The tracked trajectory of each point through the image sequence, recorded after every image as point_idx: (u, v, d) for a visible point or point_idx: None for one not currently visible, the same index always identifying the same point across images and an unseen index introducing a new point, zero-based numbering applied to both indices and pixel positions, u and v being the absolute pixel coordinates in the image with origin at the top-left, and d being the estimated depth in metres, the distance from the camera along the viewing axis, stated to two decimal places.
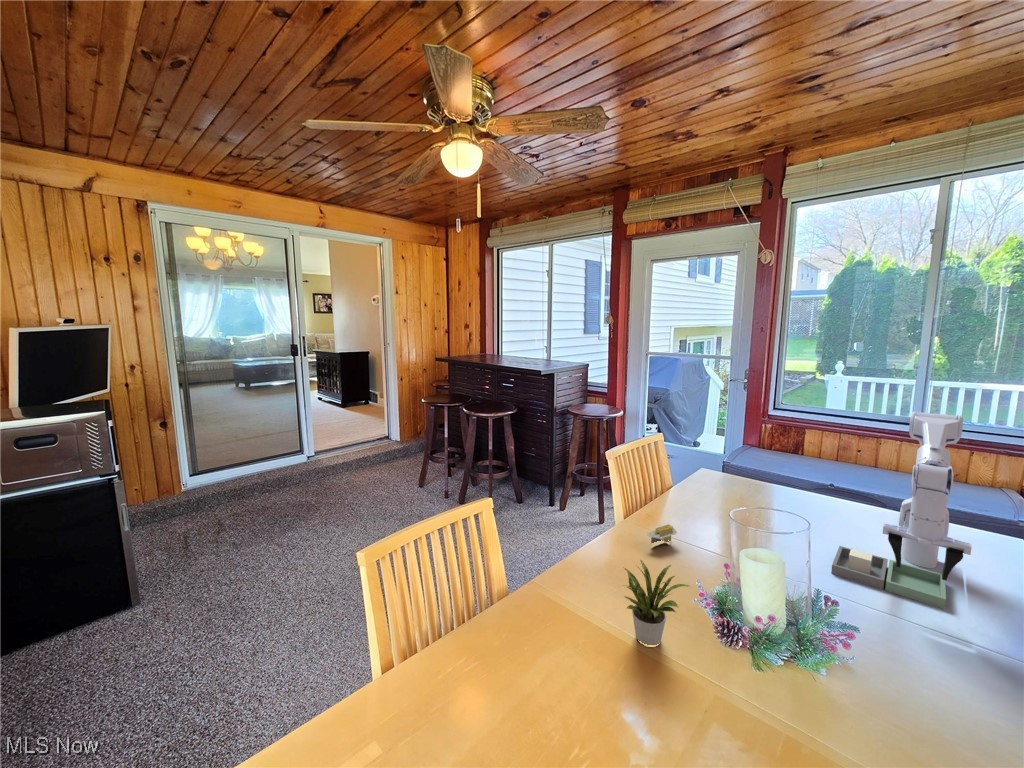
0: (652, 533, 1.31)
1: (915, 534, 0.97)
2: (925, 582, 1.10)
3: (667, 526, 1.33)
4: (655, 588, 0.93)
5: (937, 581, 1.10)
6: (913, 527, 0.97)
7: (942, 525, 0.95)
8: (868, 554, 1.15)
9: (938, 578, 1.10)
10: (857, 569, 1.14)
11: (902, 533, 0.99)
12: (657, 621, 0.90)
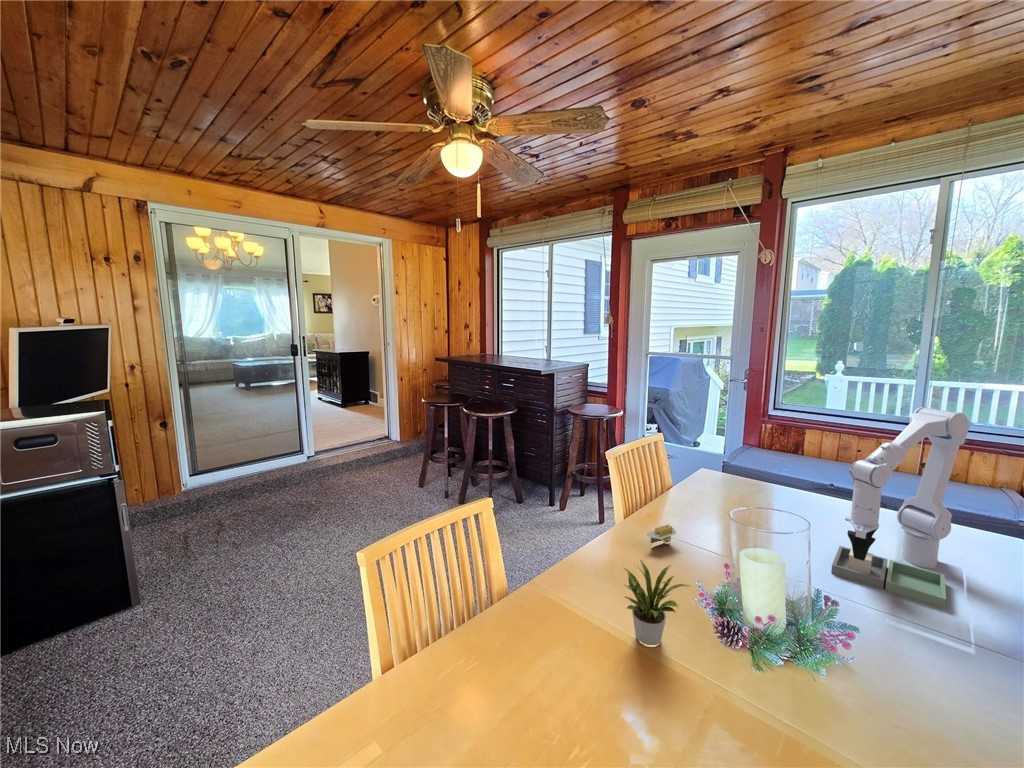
0: (652, 533, 1.30)
1: None
2: (925, 582, 1.10)
3: (667, 526, 1.33)
4: (655, 588, 0.93)
5: (937, 581, 1.10)
6: None
7: (858, 510, 1.13)
8: (868, 554, 1.15)
9: (938, 578, 1.10)
10: (857, 569, 1.14)
11: None
12: (657, 621, 0.90)
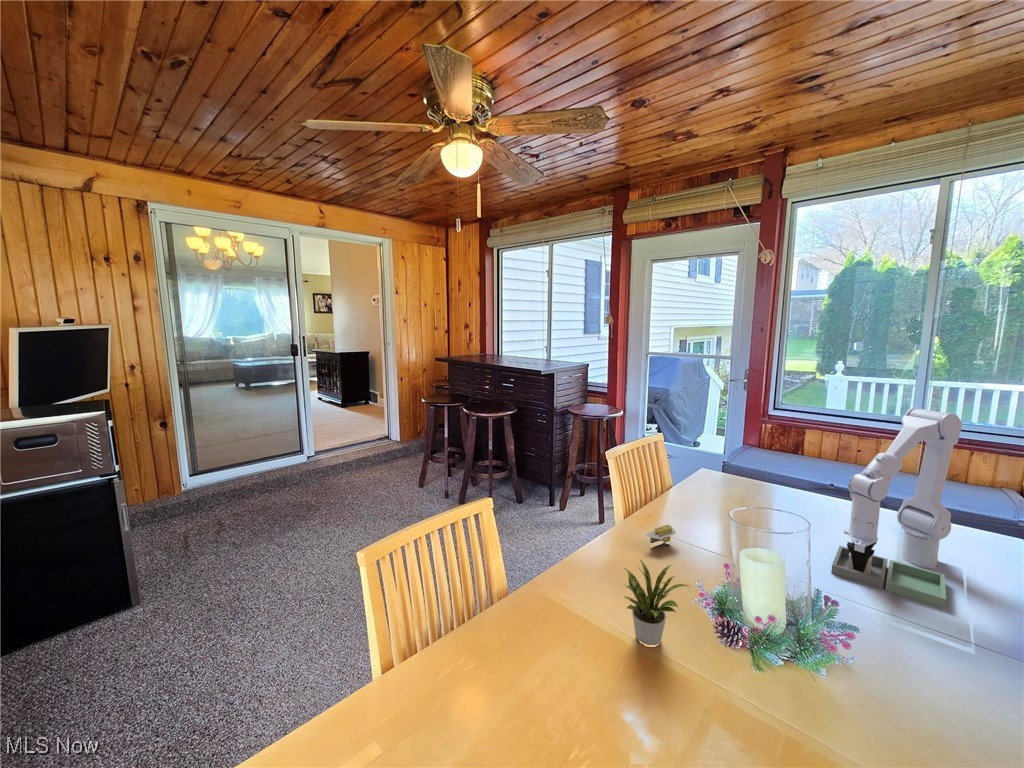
0: (652, 533, 1.30)
1: None
2: (925, 582, 1.10)
3: (666, 526, 1.33)
4: (655, 588, 0.93)
5: (937, 581, 1.10)
6: None
7: (856, 524, 1.13)
8: None
9: (938, 578, 1.10)
10: None
11: None
12: (657, 621, 0.90)
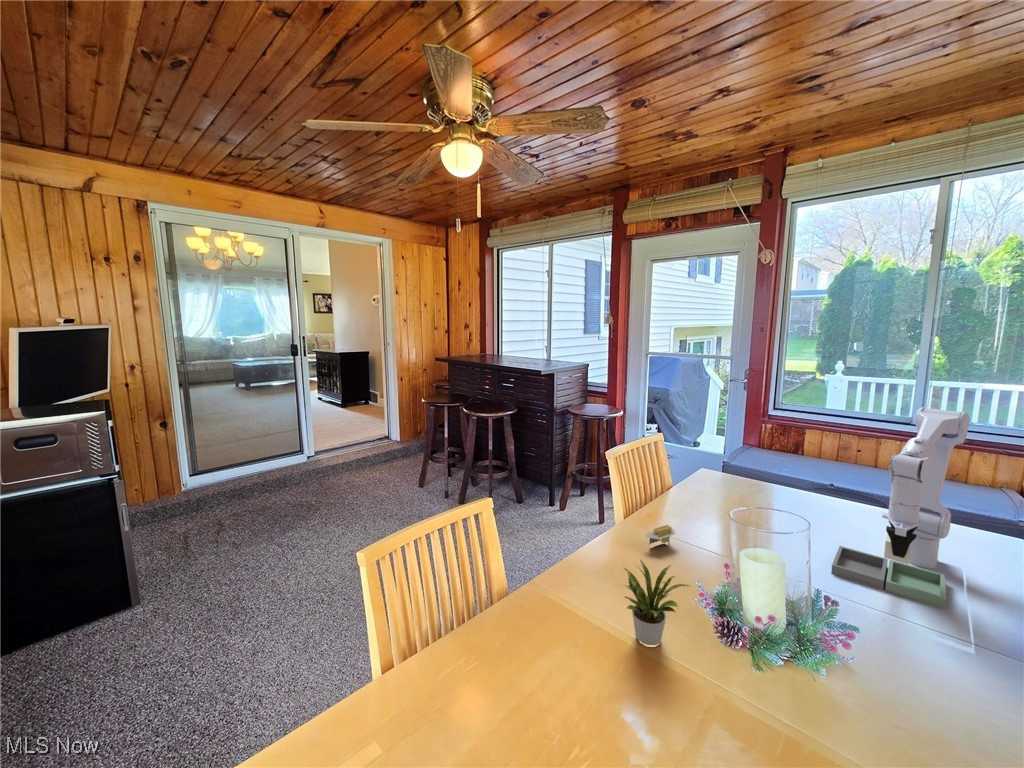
0: (651, 534, 1.30)
1: None
2: (925, 582, 1.10)
3: (665, 527, 1.33)
4: (655, 588, 0.93)
5: (937, 581, 1.10)
6: None
7: (896, 507, 1.07)
8: None
9: (938, 578, 1.10)
10: (895, 556, 1.09)
11: None
12: (657, 621, 0.90)
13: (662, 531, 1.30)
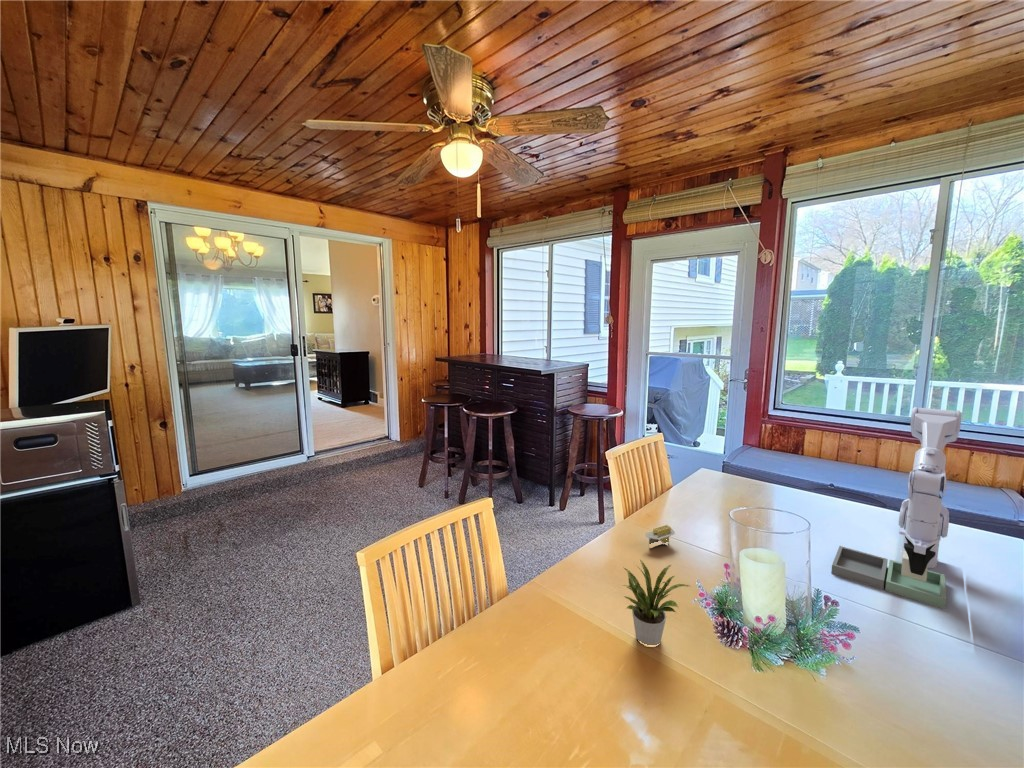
0: (650, 534, 1.30)
1: None
2: (925, 582, 1.10)
3: (665, 527, 1.33)
4: (655, 588, 0.93)
5: (937, 581, 1.10)
6: None
7: (914, 523, 1.05)
8: None
9: (938, 578, 1.10)
10: (912, 573, 1.07)
11: None
12: (657, 621, 0.90)
13: (662, 531, 1.30)
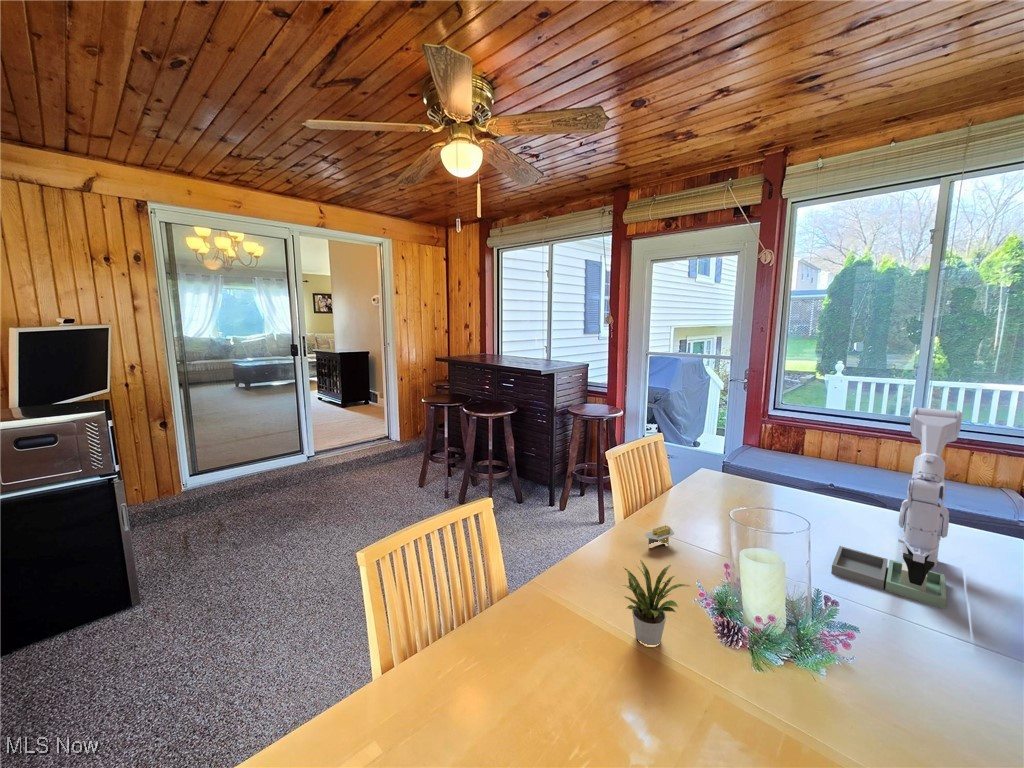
0: (650, 534, 1.30)
1: None
2: None
3: (664, 527, 1.33)
4: (655, 588, 0.93)
5: (937, 581, 1.10)
6: None
7: (913, 531, 1.05)
8: None
9: (938, 578, 1.10)
10: (911, 585, 1.07)
11: None
12: (657, 621, 0.90)
13: (661, 531, 1.30)
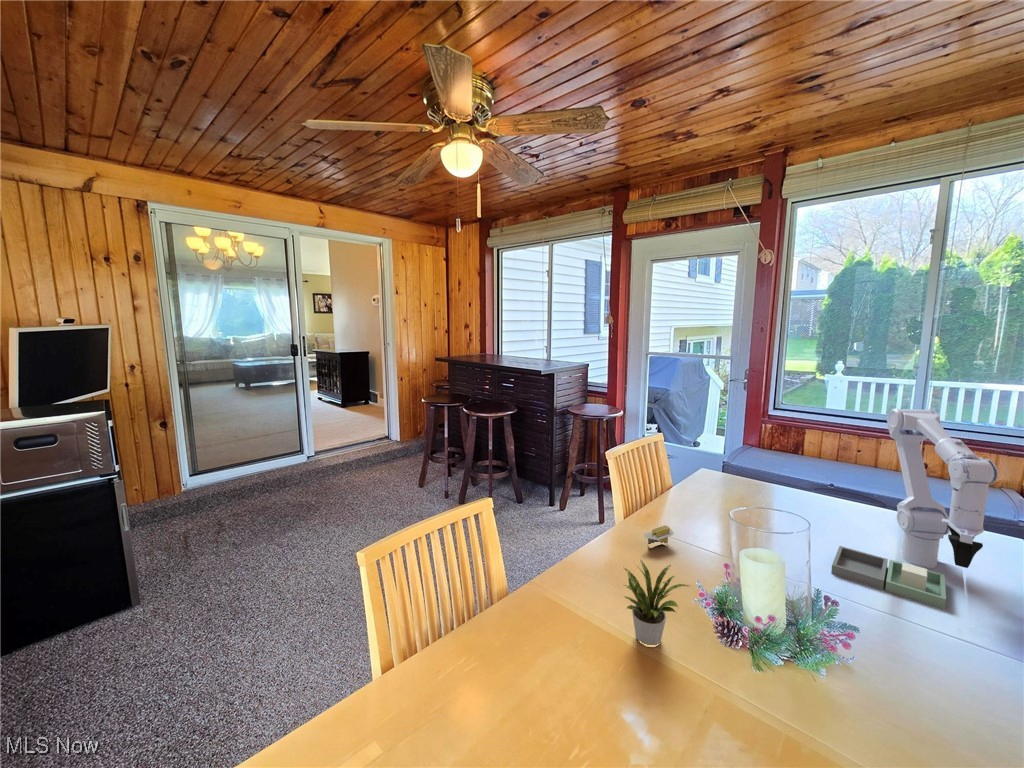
0: (649, 534, 1.30)
1: None
2: None
3: (664, 527, 1.32)
4: (655, 588, 0.93)
5: (937, 581, 1.10)
6: None
7: (959, 512, 1.02)
8: (922, 569, 1.08)
9: (938, 578, 1.10)
10: (911, 585, 1.07)
11: None
12: (657, 621, 0.90)
13: (660, 532, 1.30)
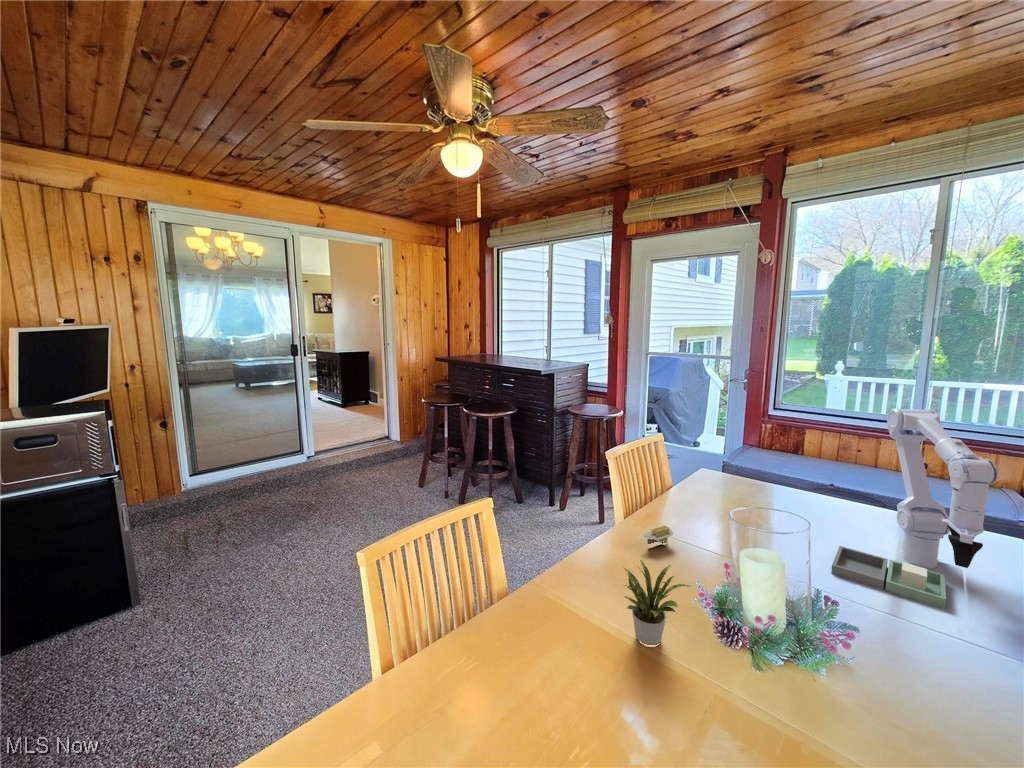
0: (649, 534, 1.30)
1: None
2: None
3: (663, 527, 1.32)
4: (655, 588, 0.93)
5: (937, 581, 1.10)
6: None
7: (959, 512, 1.02)
8: (922, 569, 1.08)
9: (938, 578, 1.10)
10: (911, 585, 1.07)
11: None
12: (657, 621, 0.90)
13: (660, 532, 1.29)
